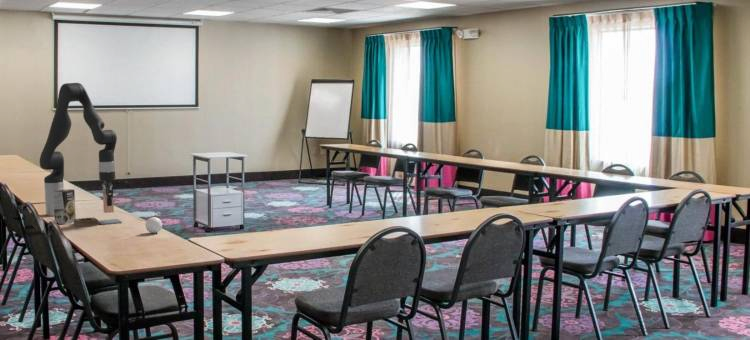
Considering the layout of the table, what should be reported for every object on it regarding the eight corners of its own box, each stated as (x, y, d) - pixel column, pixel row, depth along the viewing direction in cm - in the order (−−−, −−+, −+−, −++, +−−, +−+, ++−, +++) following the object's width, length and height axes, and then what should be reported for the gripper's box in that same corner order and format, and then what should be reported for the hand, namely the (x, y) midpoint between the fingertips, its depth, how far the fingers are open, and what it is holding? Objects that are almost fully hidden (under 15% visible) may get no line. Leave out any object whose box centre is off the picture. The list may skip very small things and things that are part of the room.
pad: (96, 221, 396) (96, 220, 396) (117, 220, 401) (117, 218, 401) (101, 224, 387) (100, 223, 387) (122, 222, 393) (121, 221, 392)
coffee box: (66, 224, 390) (64, 191, 389) (54, 223, 392) (52, 191, 390) (76, 221, 399) (75, 189, 397) (64, 220, 400) (63, 188, 399)
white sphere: (165, 232, 365) (165, 217, 364) (151, 235, 359) (150, 219, 359) (153, 230, 372) (153, 214, 371) (139, 232, 366) (138, 216, 365)
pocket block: (73, 224, 390) (73, 219, 390) (94, 222, 395) (93, 217, 395) (77, 226, 382) (77, 221, 382) (98, 225, 387) (98, 219, 387)
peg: (103, 211, 394) (102, 193, 394) (112, 211, 396) (111, 193, 396) (105, 212, 391) (104, 194, 390) (113, 212, 393) (113, 194, 392)
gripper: (96, 169, 396) (97, 204, 398) (102, 172, 384) (103, 207, 385) (111, 169, 400) (112, 202, 401) (118, 171, 387) (119, 206, 389)
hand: (108, 205), depth 393 cm, fingers closed on peg, 4 cm apart
